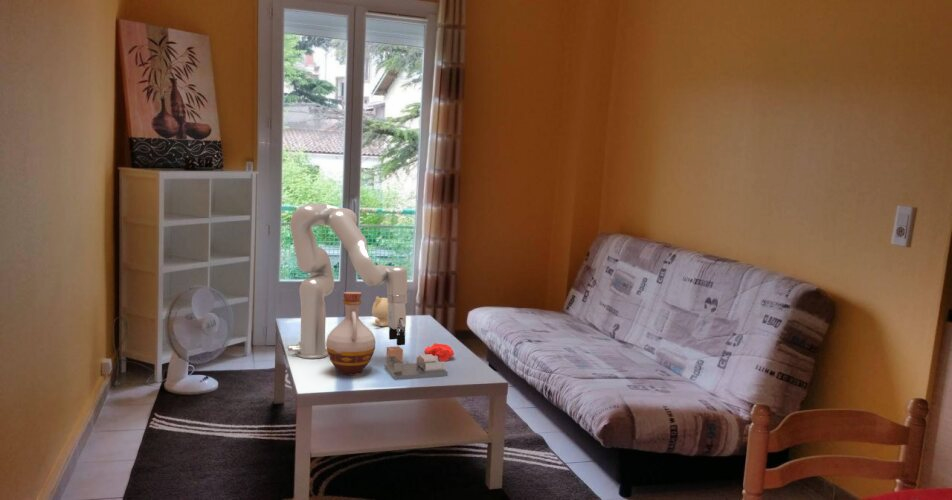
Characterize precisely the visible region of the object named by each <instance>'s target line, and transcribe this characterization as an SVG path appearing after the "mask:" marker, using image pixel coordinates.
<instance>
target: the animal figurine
mask: <svg viewBox="0 0 952 500" xmlns="http://www.w3.org/2000/svg"><path fill="white" fill-rule="evenodd" d="M426 354H432V355H433V356H438V362H447V361H449V360H450V359H451V358H453V357H454V356H455V351H454V350H453V348H452V347H451V346H449V345H447V344H444V343H436V342H434V343H433V344H432V345H431V346H427V347H425V349H424V355H426Z"/></svg>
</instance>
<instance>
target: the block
mask: <svg viewBox="0 0 952 500" xmlns="http://www.w3.org/2000/svg"><path fill="white" fill-rule="evenodd" d="M403 355H404V349H403V348H402V347H400V345H395V346H386V358H385V362H386V363H387V357H391V356H395V357H396V358H397V359H398V360H400V361H401V362H402V363H403V361H404V360H403Z"/></svg>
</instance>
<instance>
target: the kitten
mask: <svg viewBox="0 0 952 500" xmlns="http://www.w3.org/2000/svg"><path fill="white" fill-rule="evenodd" d="M374 300H375V301H374V302H373V303H372V307H371V315H372V316H373V317H374V318H375V320H374V322H375V324H376V325H377V326H379V327H389V326H388V325H387V311H388V303H387V297H379V296H378V295H376V297H375V299H374Z"/></svg>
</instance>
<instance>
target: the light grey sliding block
mask: <svg viewBox="0 0 952 500" xmlns="http://www.w3.org/2000/svg"><path fill="white" fill-rule="evenodd" d="M418 357H419V361H418V365H419V366H420V367H421V368H422V369H423V370H424V363H431V362H437V358H436V357H434V356H433V355H432V354H426V355H425V354H418Z"/></svg>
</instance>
